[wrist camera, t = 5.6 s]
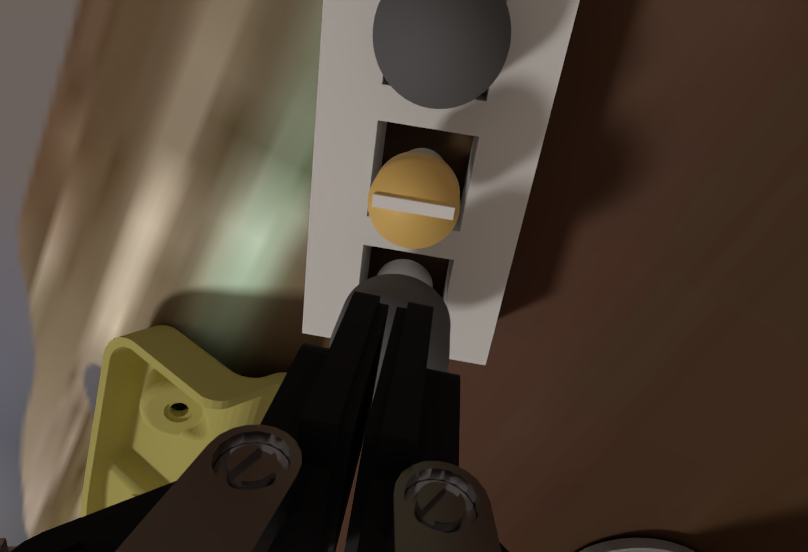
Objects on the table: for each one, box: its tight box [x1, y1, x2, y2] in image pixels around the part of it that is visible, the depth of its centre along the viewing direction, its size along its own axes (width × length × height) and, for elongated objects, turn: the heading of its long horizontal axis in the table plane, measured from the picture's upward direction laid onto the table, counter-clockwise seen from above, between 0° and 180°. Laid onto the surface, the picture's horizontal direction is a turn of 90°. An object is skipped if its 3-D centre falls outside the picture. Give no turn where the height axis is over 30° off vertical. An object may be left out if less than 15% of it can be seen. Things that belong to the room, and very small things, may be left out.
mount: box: [302, 0, 580, 365], centre depth 26 cm, size 10×19×4 cm, turn 172°
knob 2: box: [330, 259, 451, 399], centre depth 25 cm, size 5×5×6 cm
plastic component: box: [81, 325, 287, 517], centre depth 37 cm, size 20×8×10 cm
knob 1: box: [372, 0, 511, 109], centre depth 22 cm, size 5×5×6 cm
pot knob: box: [368, 148, 460, 249], centre depth 23 cm, size 4×4×5 cm
